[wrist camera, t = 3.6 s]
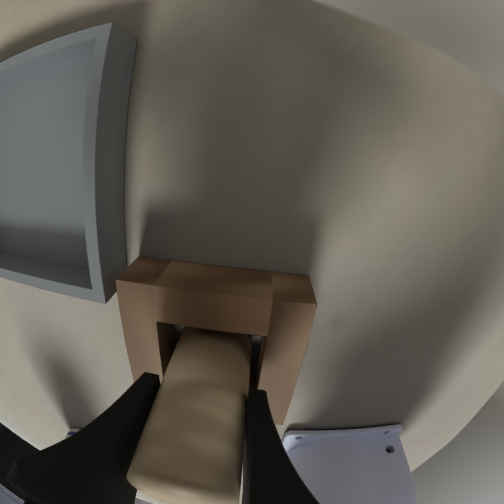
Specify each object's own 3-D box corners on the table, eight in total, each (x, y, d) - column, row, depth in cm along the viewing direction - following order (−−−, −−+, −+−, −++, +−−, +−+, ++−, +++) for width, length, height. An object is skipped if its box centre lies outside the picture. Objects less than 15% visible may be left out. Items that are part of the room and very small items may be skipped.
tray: (137, 39, 9) (112, 22, 7) (127, 278, 13) (105, 303, 11) (-10, 84, 9) (-36, 83, 7) (-6, 253, 14) (-29, 267, 11)
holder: (308, 275, 13) (317, 304, 11) (281, 392, 16) (282, 424, 14) (138, 256, 13) (115, 279, 11) (152, 375, 16) (140, 403, 14)
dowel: (255, 322, 13) (243, 486, 6) (248, 375, 14) (236, 514, 7) (178, 312, 13) (113, 458, 6) (181, 366, 14) (139, 496, 7)
